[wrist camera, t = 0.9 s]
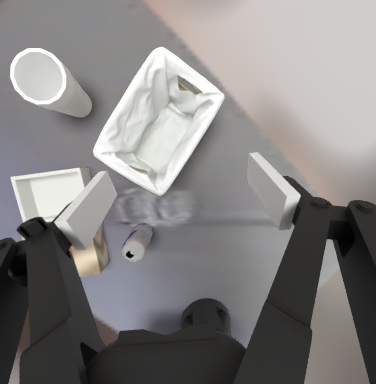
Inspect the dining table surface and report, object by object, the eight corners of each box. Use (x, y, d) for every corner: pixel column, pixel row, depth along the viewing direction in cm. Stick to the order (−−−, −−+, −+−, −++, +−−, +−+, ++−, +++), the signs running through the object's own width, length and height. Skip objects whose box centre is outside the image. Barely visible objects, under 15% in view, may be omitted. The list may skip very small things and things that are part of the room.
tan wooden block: (109, 261, 49) (100, 273, 43) (52, 270, 48) (35, 284, 42) (99, 214, 47) (88, 221, 41) (39, 223, 46) (19, 231, 40)
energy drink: (129, 231, 48) (115, 251, 36) (143, 219, 48) (133, 235, 36) (143, 244, 49) (133, 268, 37) (156, 232, 49) (150, 251, 37)
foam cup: (96, 127, 44) (63, 109, 31) (58, 120, 43) (9, 99, 30) (100, 89, 43) (68, 54, 30) (61, 81, 42) (12, 41, 29)
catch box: (98, 211, 47) (90, 215, 42) (38, 220, 46) (24, 225, 41) (89, 167, 45) (79, 167, 41) (26, 176, 44) (10, 177, 40)
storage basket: (162, 81, 44) (155, 37, 29) (212, 118, 46) (230, 94, 32) (114, 159, 46) (85, 153, 31) (165, 191, 48) (161, 200, 33)
